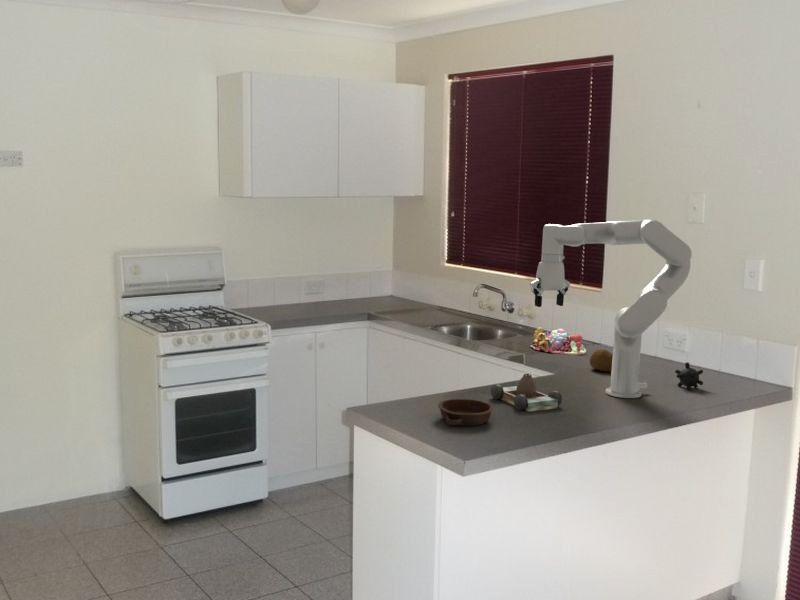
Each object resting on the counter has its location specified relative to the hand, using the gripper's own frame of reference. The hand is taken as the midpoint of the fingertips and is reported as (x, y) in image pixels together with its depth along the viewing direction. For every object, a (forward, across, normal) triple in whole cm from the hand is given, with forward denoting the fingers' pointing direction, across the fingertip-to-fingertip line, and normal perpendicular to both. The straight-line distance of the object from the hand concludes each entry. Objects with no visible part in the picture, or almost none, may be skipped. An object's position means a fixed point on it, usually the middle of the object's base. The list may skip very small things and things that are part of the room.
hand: (548, 305), depth 315 cm
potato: (+31, -40, -14) cm, 52 cm away
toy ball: (+31, -53, +19) cm, 64 cm away
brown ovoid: (+30, +19, +15) cm, 38 cm away
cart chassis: (+30, +19, +15) cm, 39 cm away
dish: (+31, +50, +26) cm, 64 cm away
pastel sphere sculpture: (+31, -50, -56) cm, 82 cm away
